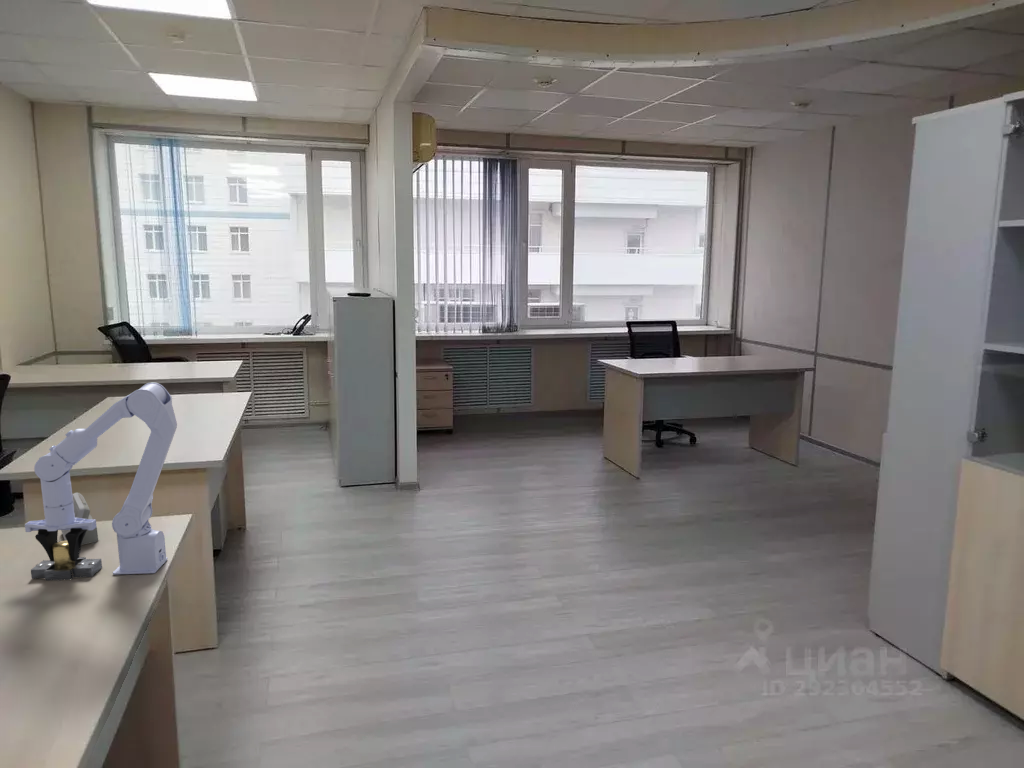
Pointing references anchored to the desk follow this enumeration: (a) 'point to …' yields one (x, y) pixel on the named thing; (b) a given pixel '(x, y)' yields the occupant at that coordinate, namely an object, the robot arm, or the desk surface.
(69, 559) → the link pin
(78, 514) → the digital clock
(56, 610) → the desk surface
